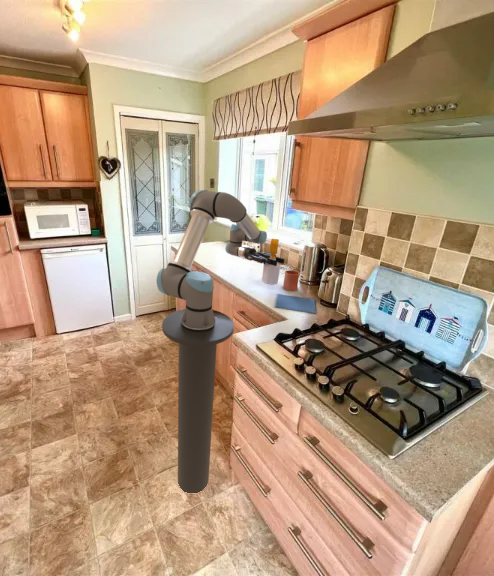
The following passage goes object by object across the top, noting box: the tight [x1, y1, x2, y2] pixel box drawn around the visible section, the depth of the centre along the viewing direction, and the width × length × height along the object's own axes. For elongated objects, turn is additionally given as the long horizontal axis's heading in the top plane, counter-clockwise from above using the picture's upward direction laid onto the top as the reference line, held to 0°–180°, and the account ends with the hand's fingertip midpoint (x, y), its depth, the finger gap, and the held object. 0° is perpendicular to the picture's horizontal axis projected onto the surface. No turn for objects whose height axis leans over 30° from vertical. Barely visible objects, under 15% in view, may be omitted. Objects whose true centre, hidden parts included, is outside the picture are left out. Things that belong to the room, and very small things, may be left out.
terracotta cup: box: [282, 269, 300, 292], centre depth 180 cm, size 8×8×10 cm
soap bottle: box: [261, 238, 281, 286], centre depth 169 cm, size 9×9×25 cm
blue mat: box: [274, 293, 316, 315], centre depth 161 cm, size 20×18×1 cm
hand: (280, 262), depth 165 cm, fingers closed on soap bottle, 6 cm apart
